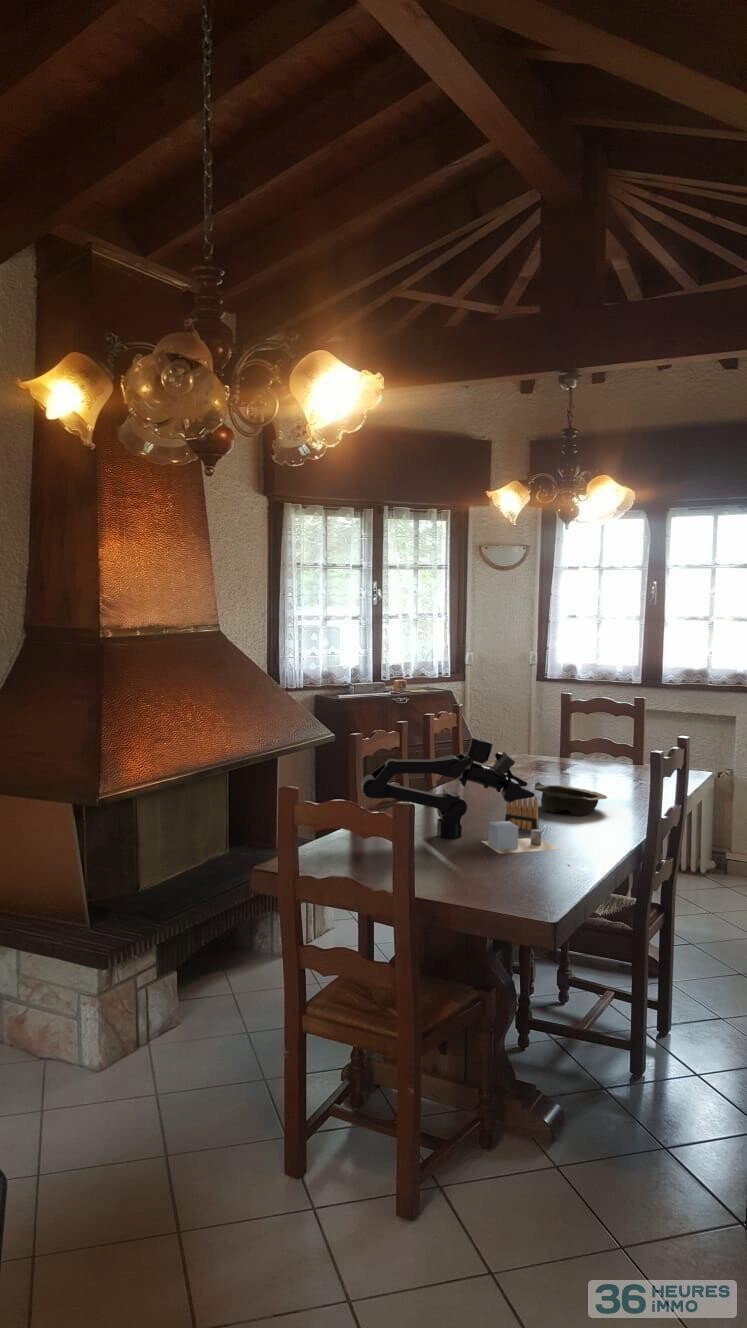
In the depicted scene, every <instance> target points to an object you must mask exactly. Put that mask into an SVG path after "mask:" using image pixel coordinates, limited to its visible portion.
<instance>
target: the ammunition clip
mask: <svg viewBox="0 0 747 1328" xmlns="http://www.w3.org/2000/svg"><path fill="white" fill-rule="evenodd" d="M527 799H528V800H527ZM522 800H523V801H522ZM538 802H539V801H538V797H537V795H534V800H533V797H531V798H525V799H519V800H515V801H513V802H511V803H510V802H506V806H505V817H504V821H510V822H512V823H513V824H515V825H517V826H518V830H519V829H521V830H528V831H531V830H533V829H537V830H540V829H539V828H540V827H539V806H538Z"/></svg>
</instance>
